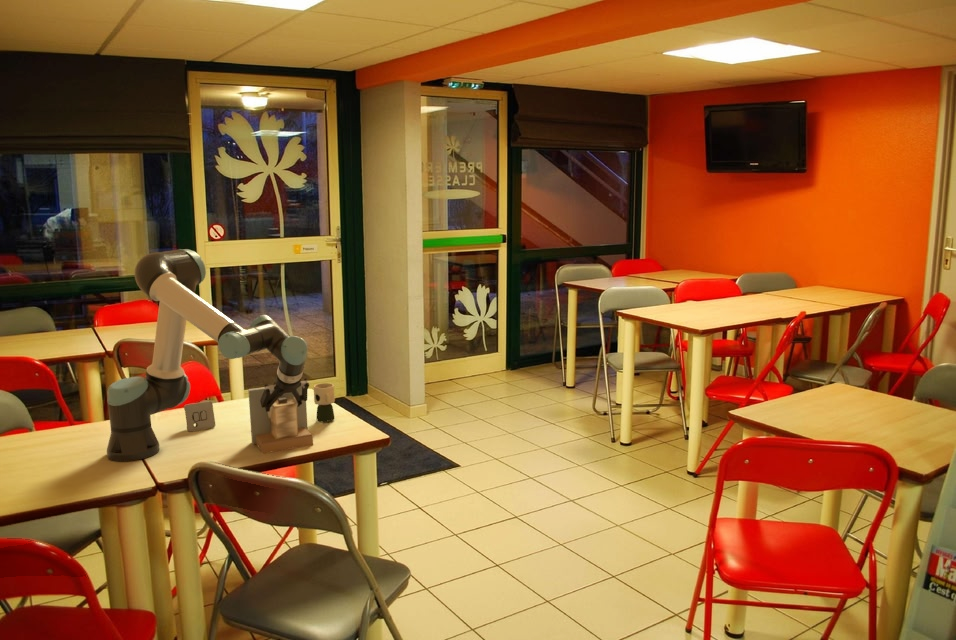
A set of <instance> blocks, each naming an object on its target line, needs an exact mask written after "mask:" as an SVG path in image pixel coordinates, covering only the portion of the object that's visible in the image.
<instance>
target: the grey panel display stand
mask: <svg viewBox="0 0 956 640" xmlns="http://www.w3.org/2000/svg"><path fill="white" fill-rule="evenodd" d="M264 390H265V387H264V386H263V387H256V388H255V387H254V388H248V404H249V418H250V419H249V420H250V432H251V444H252V445H257V447H258V449H259V450H260V452H261V453H262V454H267V453H273V452H278V451H285V450H290V449H291V450H292V449H296V448H302V447H309V446H313V445H314V435H313V433H310V432H309V430H308V410H307V401H304V400H303V401H302V404H301V405H300V406H299V407H297V424H298V436H293V437H287V438H281V439H275V437H274V436H273V435H272V434H271V418H269V417H268V413H267V412H266V409H265V407H264V408H262V406H261V402H260V400H261V397H262V395H263V392H264ZM274 390H275V389H273V390H272V392H273V391H274ZM297 391H298V393H299V395H302V386H300V387H298V388H297ZM271 394H272V393H270V395H271ZM285 397H286V398H287V399H288V398H291V399H292V400H293V398H294V395H293V394H292V392H291V393H284V394H283V395H282V396H281V397H279V398H285ZM277 400H278V399H277Z"/></svg>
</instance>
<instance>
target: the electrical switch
mask: <svg viewBox="0 0 956 640" xmlns="http://www.w3.org/2000/svg"><path fill="white" fill-rule="evenodd" d="M183 408H184V413H185V421H186V430H187V432H189V433H191V432H195V431H201V430H202V431H203V430H208V429H213V428H215V426H216V421H215V420H216V419H215V411H214V405H213V401H210V400H207V401H202V402H196V403H195V402H194V403H188V404H185V405H184V406H183ZM194 424H195V425H194Z"/></svg>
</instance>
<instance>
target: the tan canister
mask: <svg viewBox="0 0 956 640" xmlns="http://www.w3.org/2000/svg"><path fill="white" fill-rule="evenodd" d="M271 434H272V435H273V436H274V437H275V439H281V438H287V437H293V436H298V424H297V406H296V403H295V402H294V401H293V400H292V399H291V398H288V399H287V398H286V397H285V398H278V400H276V401H275V403H274V404H273V411H272V417H271Z"/></svg>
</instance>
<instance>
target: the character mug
mask: <svg viewBox="0 0 956 640" xmlns="http://www.w3.org/2000/svg"><path fill="white" fill-rule="evenodd" d="M335 398H336V397H335V384H333V383H331V382H322V383H316V384H314V385H313V401H314V404H315V405H317V407H316V421H317V422H320V423H328V422H330V421H334V420H335V419H336V417H335V411H334V407H333V405H332V404H334V403H335V401H336V399H335Z"/></svg>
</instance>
